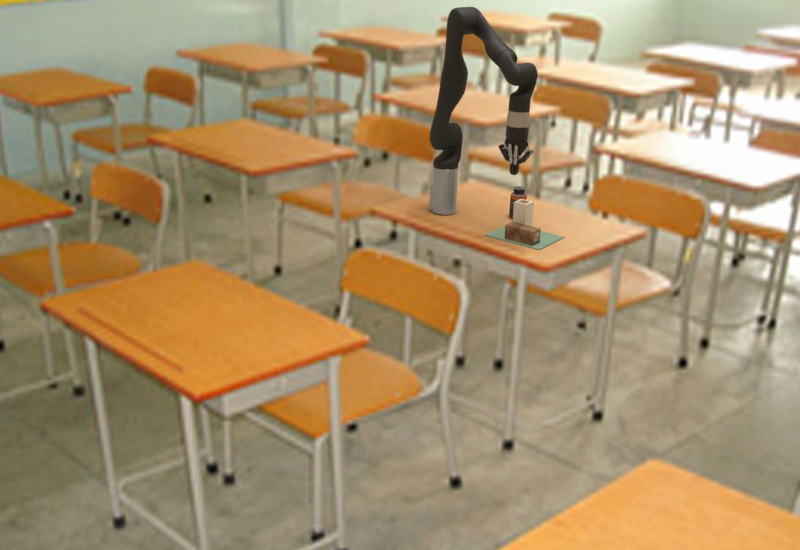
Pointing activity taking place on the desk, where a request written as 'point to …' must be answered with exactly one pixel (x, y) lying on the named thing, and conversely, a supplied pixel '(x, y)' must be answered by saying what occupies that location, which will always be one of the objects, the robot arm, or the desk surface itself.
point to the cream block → (523, 212)
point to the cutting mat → (545, 241)
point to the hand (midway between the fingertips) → (513, 174)
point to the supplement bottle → (516, 198)
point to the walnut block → (522, 233)
